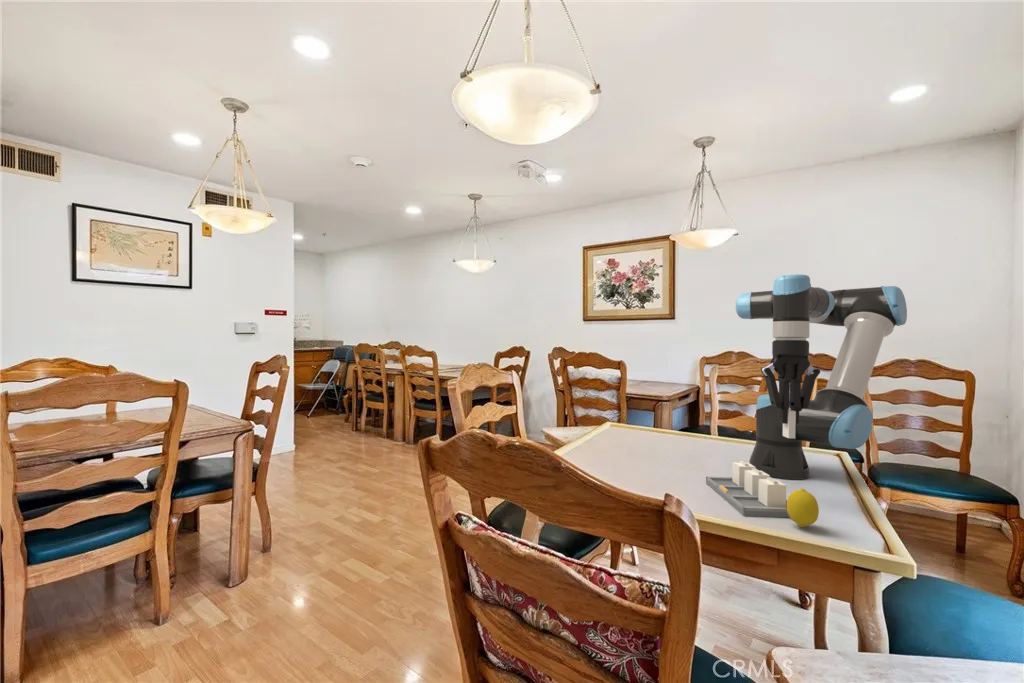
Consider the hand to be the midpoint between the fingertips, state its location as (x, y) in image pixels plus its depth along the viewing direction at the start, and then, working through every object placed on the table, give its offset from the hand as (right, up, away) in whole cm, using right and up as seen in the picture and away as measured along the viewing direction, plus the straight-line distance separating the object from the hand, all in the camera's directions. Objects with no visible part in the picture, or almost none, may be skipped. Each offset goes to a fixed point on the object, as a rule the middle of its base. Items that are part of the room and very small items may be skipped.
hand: (788, 437), depth 106 cm
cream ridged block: (-7, -14, +1) cm, 16 cm away
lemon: (-7, -16, -15) cm, 23 cm away
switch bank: (-10, -15, +1) cm, 18 cm away
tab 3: (-8, -14, -6) cm, 17 cm away
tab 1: (-7, -14, +8) cm, 17 cm away
